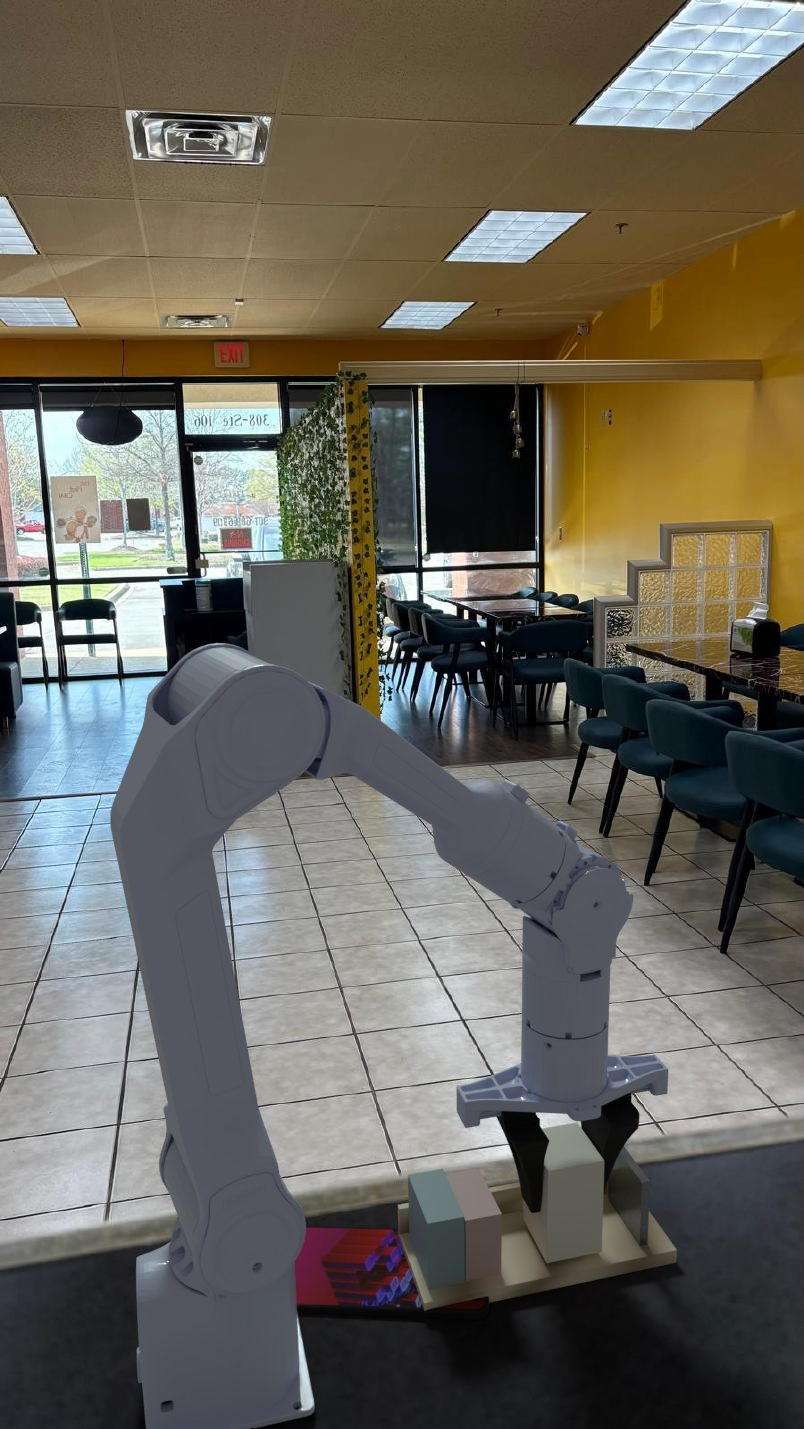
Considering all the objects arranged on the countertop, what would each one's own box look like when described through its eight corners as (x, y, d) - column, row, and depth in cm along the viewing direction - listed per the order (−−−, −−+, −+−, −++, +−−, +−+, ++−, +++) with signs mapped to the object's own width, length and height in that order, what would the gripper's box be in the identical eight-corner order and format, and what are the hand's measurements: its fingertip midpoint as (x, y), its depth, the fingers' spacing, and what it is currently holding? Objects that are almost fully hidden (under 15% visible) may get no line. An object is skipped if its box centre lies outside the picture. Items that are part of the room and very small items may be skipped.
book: (546, 1263, 68) (548, 1171, 67) (523, 1219, 72) (524, 1131, 71) (601, 1251, 69) (604, 1160, 68) (575, 1208, 73) (577, 1122, 72)
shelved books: (428, 1290, 67) (427, 1223, 66) (409, 1237, 72) (408, 1174, 70) (501, 1274, 68) (502, 1209, 67) (478, 1224, 73) (478, 1162, 72)
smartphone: (280, 1223, 74) (487, 1228, 73) (281, 1234, 74) (487, 1238, 73) (259, 1306, 67) (489, 1312, 65) (259, 1317, 67) (489, 1324, 66)
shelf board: (424, 1316, 66) (423, 1276, 65) (398, 1241, 73) (397, 1204, 72) (676, 1262, 70) (678, 1224, 70) (630, 1196, 77) (631, 1161, 76)
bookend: (639, 1246, 70) (641, 1182, 69) (608, 1198, 75) (609, 1138, 74) (647, 1244, 70) (650, 1180, 69) (615, 1197, 75) (617, 1137, 74)
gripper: (479, 1065, 62) (479, 1258, 65) (694, 1031, 65) (685, 1216, 68) (446, 1010, 69) (448, 1187, 72) (643, 982, 72) (637, 1152, 75)
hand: (561, 1197), depth 70 cm, fingers closed on book, 4 cm apart
